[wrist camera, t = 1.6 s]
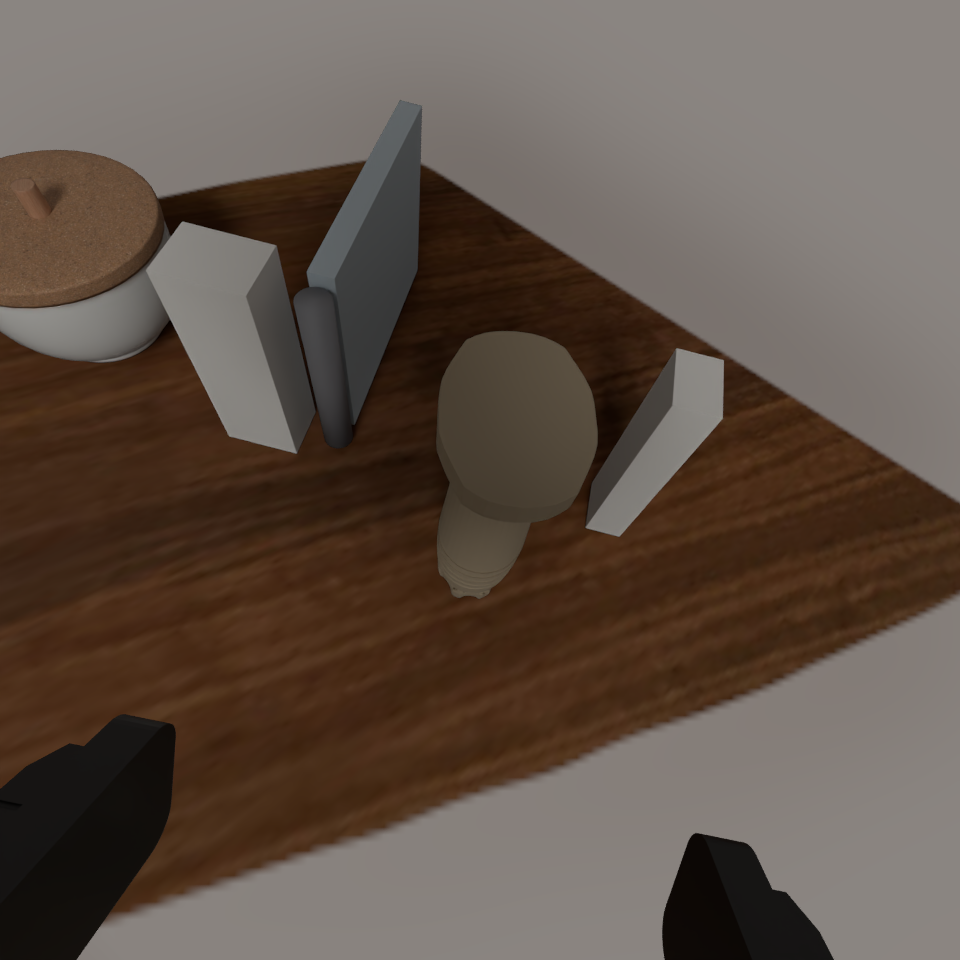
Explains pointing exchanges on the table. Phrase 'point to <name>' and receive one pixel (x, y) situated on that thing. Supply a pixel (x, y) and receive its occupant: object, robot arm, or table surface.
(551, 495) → the tan tapered grip
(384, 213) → the door
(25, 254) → the lidded jar
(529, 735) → the table surface
